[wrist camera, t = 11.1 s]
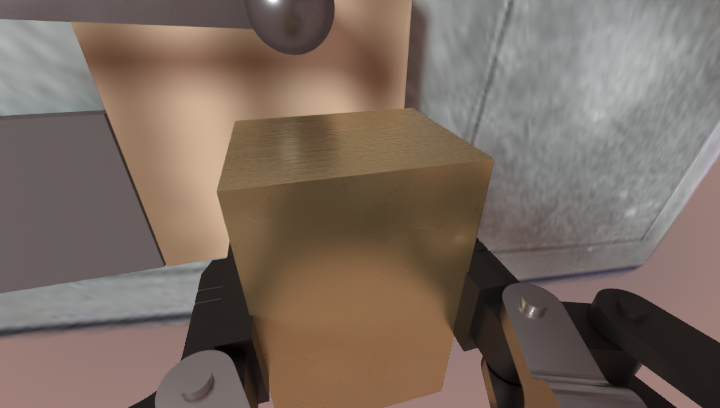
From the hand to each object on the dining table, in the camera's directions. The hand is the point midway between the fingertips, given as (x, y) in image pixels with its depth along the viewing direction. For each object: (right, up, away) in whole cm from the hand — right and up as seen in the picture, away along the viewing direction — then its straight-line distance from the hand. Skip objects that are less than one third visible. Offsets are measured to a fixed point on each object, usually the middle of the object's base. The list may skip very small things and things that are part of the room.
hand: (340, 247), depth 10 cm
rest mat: (-19, +1, +10) cm, 21 cm away
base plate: (-5, +7, +11) cm, 14 cm away
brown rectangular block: (0, +1, +1) cm, 1 cm away
